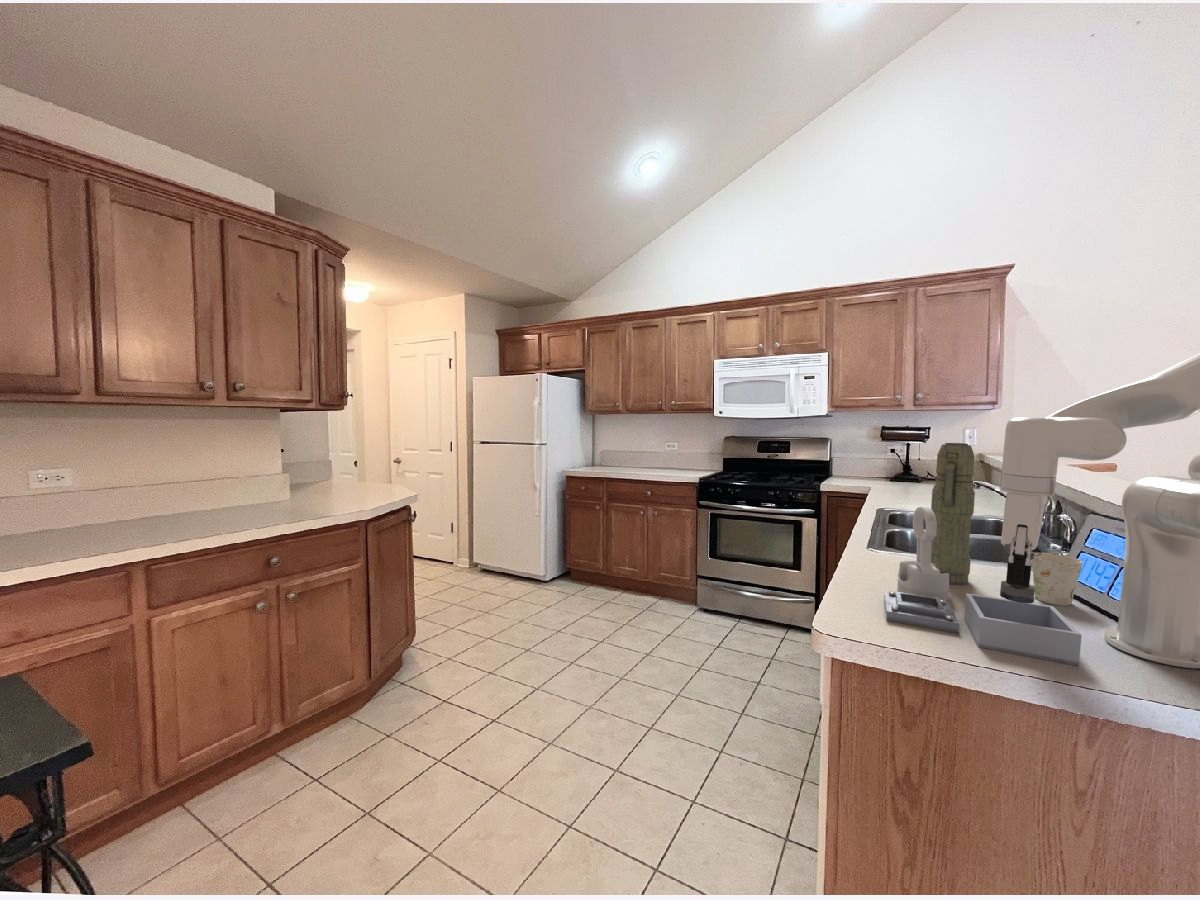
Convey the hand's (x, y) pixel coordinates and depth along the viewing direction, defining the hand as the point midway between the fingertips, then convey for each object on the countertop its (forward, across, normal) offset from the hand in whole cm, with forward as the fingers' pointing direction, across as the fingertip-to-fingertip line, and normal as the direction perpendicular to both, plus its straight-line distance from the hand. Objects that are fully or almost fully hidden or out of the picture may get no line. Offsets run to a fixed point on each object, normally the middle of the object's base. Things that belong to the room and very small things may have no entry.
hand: (1018, 581), depth 90 cm
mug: (+11, -32, +3) cm, 34 cm away
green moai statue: (+11, -32, -14) cm, 37 cm away
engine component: (+12, -16, -17) cm, 26 cm away
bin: (+11, 0, 0) cm, 11 cm away
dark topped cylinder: (+3, 0, 0) cm, 3 cm away
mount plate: (+12, 0, -15) cm, 19 cm away
